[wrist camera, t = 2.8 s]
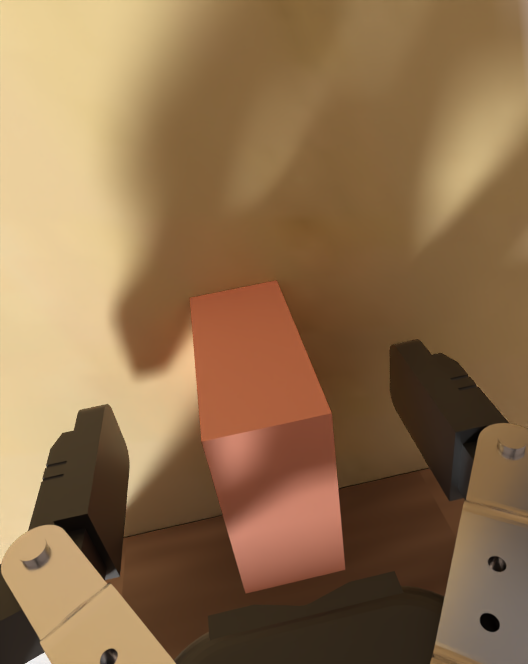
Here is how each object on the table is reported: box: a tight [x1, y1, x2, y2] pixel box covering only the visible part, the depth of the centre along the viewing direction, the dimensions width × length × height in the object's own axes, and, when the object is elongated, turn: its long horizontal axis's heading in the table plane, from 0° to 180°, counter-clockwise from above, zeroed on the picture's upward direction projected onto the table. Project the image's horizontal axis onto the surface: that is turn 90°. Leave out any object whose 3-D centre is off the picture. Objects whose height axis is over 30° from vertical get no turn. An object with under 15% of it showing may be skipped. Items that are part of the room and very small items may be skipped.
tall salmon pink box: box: [190, 280, 345, 593], centre depth 13 cm, size 5×2×6 cm, turn 8°
